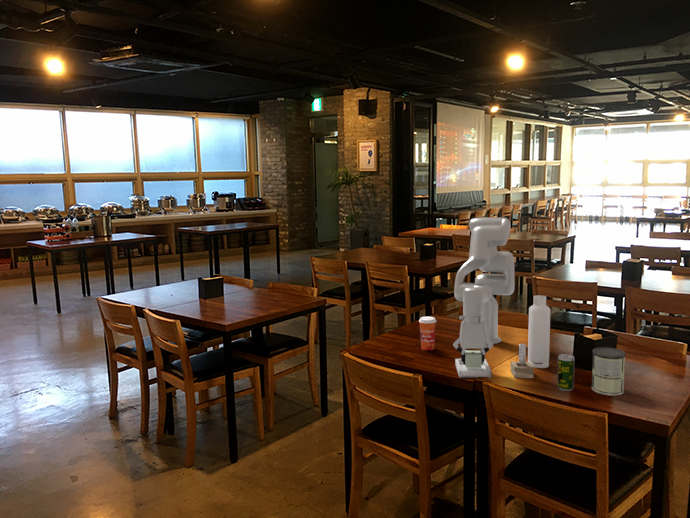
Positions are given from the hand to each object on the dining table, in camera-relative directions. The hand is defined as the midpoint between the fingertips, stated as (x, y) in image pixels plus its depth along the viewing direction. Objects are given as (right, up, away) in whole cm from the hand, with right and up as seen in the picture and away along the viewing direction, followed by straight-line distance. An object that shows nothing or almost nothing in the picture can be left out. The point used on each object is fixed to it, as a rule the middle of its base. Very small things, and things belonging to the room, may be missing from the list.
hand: (472, 363), depth 215 cm
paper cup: (-13, 0, +31) cm, 33 cm away
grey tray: (0, -3, 0) cm, 3 cm away
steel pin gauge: (+18, -3, -6) cm, 19 cm away
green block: (0, -1, 0) cm, 1 cm away
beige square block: (+18, -3, -5) cm, 19 cm away
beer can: (+28, -5, -20) cm, 35 cm away
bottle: (+28, -2, +6) cm, 28 cm away
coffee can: (+42, -5, -23) cm, 48 cm away
